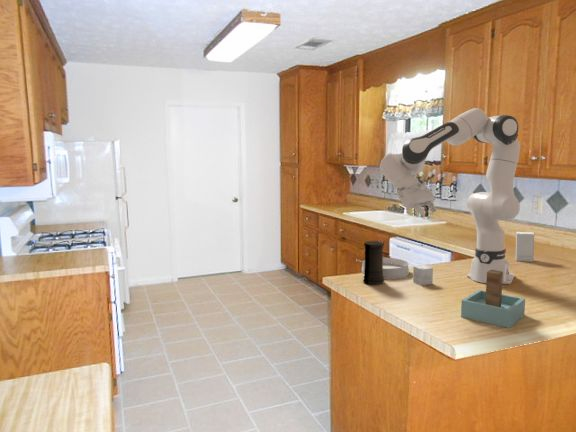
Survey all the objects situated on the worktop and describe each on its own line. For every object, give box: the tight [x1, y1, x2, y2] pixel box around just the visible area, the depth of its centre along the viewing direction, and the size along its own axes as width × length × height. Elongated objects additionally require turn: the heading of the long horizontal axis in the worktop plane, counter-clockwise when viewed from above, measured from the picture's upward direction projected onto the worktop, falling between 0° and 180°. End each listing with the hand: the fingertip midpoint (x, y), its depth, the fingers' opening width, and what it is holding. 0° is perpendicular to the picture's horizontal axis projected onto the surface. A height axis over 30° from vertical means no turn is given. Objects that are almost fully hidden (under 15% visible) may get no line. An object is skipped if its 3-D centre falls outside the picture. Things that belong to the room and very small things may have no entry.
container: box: [362, 240, 385, 286], centre depth 201 cm, size 9×9×18 cm
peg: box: [485, 270, 503, 307], centre depth 159 cm, size 4×4×16 cm
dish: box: [361, 257, 410, 280], centre depth 218 cm, size 22×22×5 cm
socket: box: [460, 289, 526, 329], centre depth 159 cm, size 16×16×6 cm
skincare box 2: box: [515, 231, 535, 263], centre depth 236 cm, size 8×6×15 cm
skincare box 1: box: [412, 264, 434, 287], centre depth 200 cm, size 6×6×7 cm
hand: (429, 212), depth 180 cm, fingers open, 8 cm apart
